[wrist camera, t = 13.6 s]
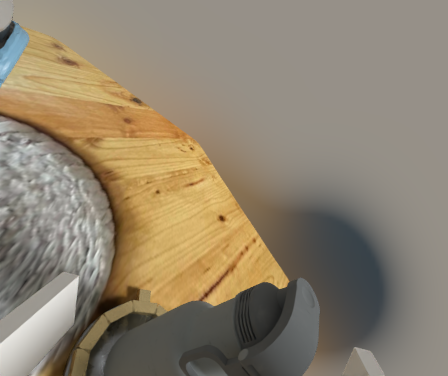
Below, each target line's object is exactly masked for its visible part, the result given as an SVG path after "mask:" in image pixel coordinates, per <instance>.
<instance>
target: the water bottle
mask: <svg viewBox="0 0 448 376" xmlns="http://www.w3.org/2000/svg"><path fill="white" fill-rule="evenodd" d="M319 314H320V309H319V303H318V300H317V298H316V295H315V293H314V291H313V289H312V288H311V286H310V285H309V283H308V282H307V281H306V280H304V279H303V278H298V279H296V280H293V281H291V282H289V283H288V285H287V287H285V288H282V289H278V288H277V287H276V286H274V285H273V284H271V283H267V282H263V283H260V284H258V285H256V286H253V287H251V288H250V289H247V290H244V291H242V292H240V293H238V294H237V295H236V297H235V298H233V299H230V300H228V301H226V302H224V303H221V304H219V305H217V306H213V305H211V304H209V303H207V302H203V301H191V302H188V303H186V304H183V305H181V306H179V307H177V308H175V309H173V310H171V311H169V312H166V313H164V314H162V315H160V316H158V317H156V318H154V319H152V320H150V321H148V322H146V323H144V324H142V325H140V326H138V327H136V328H134V329H132V330H129V331H128V332H126V333H125V334H123V335H122V336H121V337H120V338H119V339H118V340H117V341H116V343H115V344H114V345H113V347H112V348H111V350H110V352H109V354H108V357H107V360H106V363H105V368H104V376H302V375H303V374H304V373H305V371H306V370H307V369H308V367H309V365H310V364H311V362H312V360H313V358H314V355H315V352H316V349H317V345H318V335H319Z"/></svg>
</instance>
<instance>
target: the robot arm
mask: <svg viewBox="0 0 448 376" xmlns="http://www.w3.org/2000/svg"><path fill="white" fill-rule="evenodd" d="M13 8H14V6H13V1H12V0H0V87H1V85H2V83H4V81H5V79H6V78H7V76H8V75H9V74H10V72H11V70H12V69H13V67H14V66H15V64H16V63H17V61H18V59H19V58H20V56H21V54H22V53H23V51H24V49H25V47H26V46H27V44H28V42H29V36H28V34H27V32H26V31H25V30H23V29H22V28H21V27H20V25H19V24H18V23H16V22H14V21H12V18H13ZM78 281H79V275H75V274H71V273H67V272H62V273H61V274H60V275H58V276H57V277H56V278H54V279H53V280H52V281H51V282H49V283H48V284H47V285H45V286H44V287H43V288H41V289H40V290H39V291H38V292H36V293H35V294H34V295H32V296H31V297H30V298H28V299H27V300H26V301H25V302H23V303H22V304H21V305H19V306H18V307H17V308H15V309H14V310H13V311H11V312H10V313H9V314H8V315H6V316H5V317H4V318H2V319H1V320H0V376H28V375H29V374H30V373H31V372H32V370H33V369H34V368H35V367H36V366H37V365H38V364H39V363H40V361H41V360H42V359H43V358H44V357H45V356H46V355H47V354H48V352H49V351H50V350H51V349H52V348H53V347H54V346H55V345H56V343H57V342H58V341H59V340H60V339H61V338H62V337H63V336H64V334H65V333H66V332H67V331H68V330H69V329H70V328H71V327H72V325H73V324H74V319H75V310H76V300H77V291H78ZM342 376H385V374H384V373H383V371H382V369H381V368H380V366H379V364H378V362H377V361H376V359H375V357H374V356H373V354H372V352H371V351H368V350H364V349H360V348H356V347H354V349H353V351H352V354H351V356H350V358H349V360H348V363H347V365H346V367H345V370H344V372H343V374H342Z"/></svg>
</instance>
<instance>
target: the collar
mask: <svg viewBox="0 0 448 376" xmlns="http://www.w3.org/2000/svg"><path fill="white" fill-rule="evenodd" d="M150 293H151V291H148V290H142V289H139V290H138V291H137V300H131V301H129V302H127V303H125V304H122V305H119V306H116V307H114V308H112V309H110V310H109V311H107V312H105V313H104V314H102V315H101V316H99V317H98V318H97V319H96V320H94V321H93V322H92V323H91V324H90V325H89V326H88V327H87V329H86V330H85V331H84V332H83V333H82V335H81V336H80V338H79V339H78V340H77V342H76V344H75V346H74V347H73V349H72V351H71V353H70V356H69V358H68V360H67V363H66V366H65V369H64V373H63V376H104V368H105V363H106V360H107V357H108V354H109V352H110V350H111V348H112V347H113V345H114V344H115V343H116V341H117V340H118V339H119V338H120V337H121V336H122V335H123V334H125V333H126V332H128V331H129V330H132V329H134V328H136V327H138V326H140V325H142V324H144V323H146V322H148V321H150V320H152V319H154V318H156V317H158V316H160V315H162V314H164V313H166V312H167V311H166V310H165V309H164V308H163V307H161V306H160V305H159V304H158V305H157V303H150Z"/></svg>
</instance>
